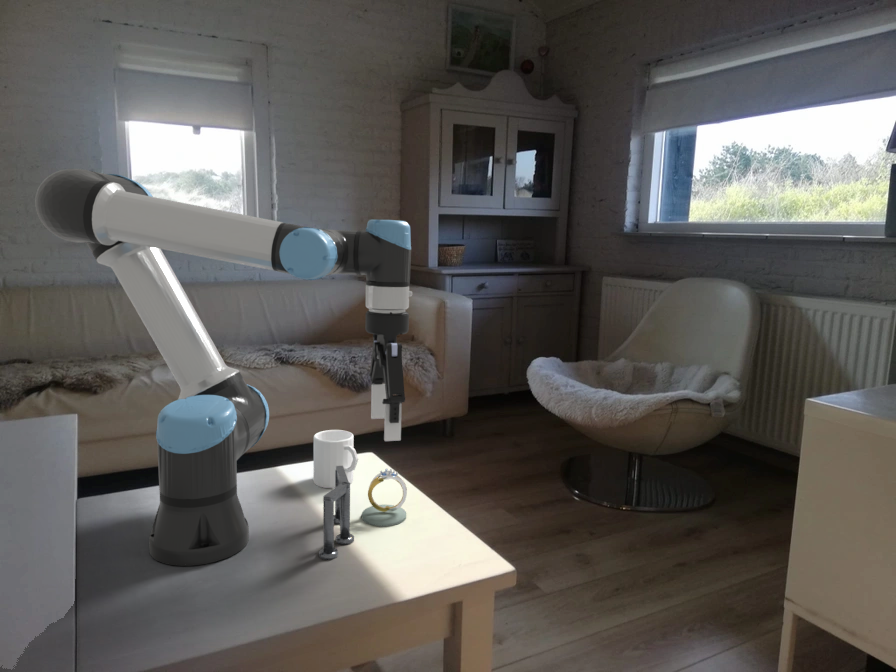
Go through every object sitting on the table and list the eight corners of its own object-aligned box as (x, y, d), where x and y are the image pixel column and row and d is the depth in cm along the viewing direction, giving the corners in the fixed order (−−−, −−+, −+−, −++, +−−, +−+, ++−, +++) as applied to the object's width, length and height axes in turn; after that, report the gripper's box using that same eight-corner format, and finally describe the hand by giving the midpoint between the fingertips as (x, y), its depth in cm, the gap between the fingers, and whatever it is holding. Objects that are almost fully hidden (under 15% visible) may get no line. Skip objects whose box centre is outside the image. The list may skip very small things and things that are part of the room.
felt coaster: (354, 521, 116) (354, 518, 116) (373, 504, 123) (373, 501, 123) (395, 529, 113) (395, 526, 113) (412, 511, 121) (412, 508, 121)
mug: (340, 497, 126) (340, 448, 125) (306, 480, 135) (305, 434, 133) (372, 487, 132) (373, 440, 131) (338, 471, 140) (338, 427, 139)
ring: (406, 509, 120) (407, 467, 119) (405, 516, 117) (406, 473, 116) (369, 508, 120) (369, 466, 119) (367, 515, 117) (367, 472, 116)
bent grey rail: (290, 552, 104) (290, 492, 103) (336, 515, 118) (336, 463, 117) (332, 561, 102) (332, 500, 100) (373, 522, 116) (374, 469, 114)
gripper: (426, 319, 102) (422, 449, 105) (394, 302, 126) (392, 409, 129) (378, 319, 100) (376, 452, 103) (355, 302, 124) (354, 411, 127)
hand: (385, 428), depth 116 cm, fingers open, 13 cm apart
